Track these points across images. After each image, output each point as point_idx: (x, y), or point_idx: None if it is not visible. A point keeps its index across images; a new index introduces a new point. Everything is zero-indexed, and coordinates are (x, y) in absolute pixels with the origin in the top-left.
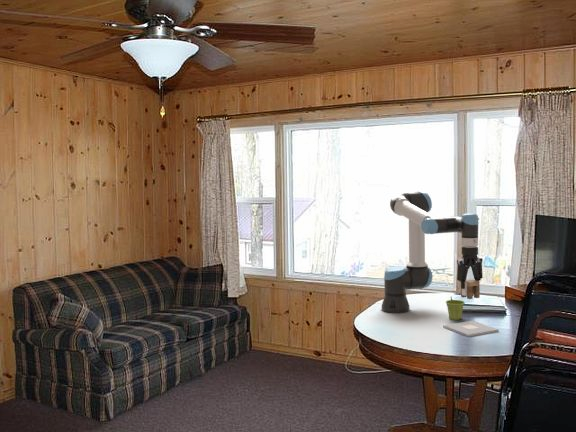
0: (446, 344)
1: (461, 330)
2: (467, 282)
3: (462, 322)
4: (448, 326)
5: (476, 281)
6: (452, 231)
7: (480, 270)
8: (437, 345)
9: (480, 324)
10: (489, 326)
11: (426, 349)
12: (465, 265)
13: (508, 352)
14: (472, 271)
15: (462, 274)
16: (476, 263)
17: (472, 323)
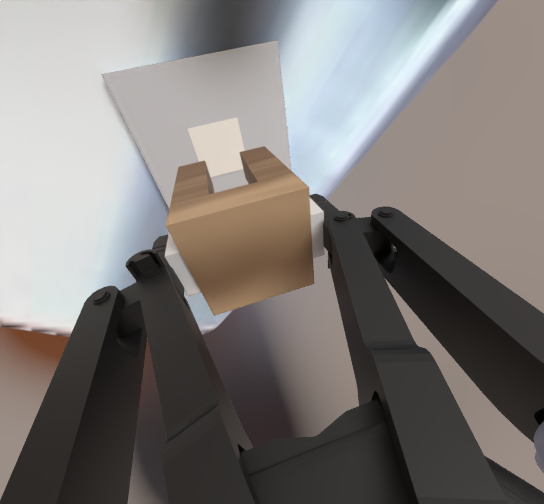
0: (86, 275)
1: (170, 180)
2: (205, 295)
3: (219, 59)
4: (128, 107)
5: (285, 292)
6: None
7: (418, 310)
8: (53, 280)
9: (275, 123)
10: (289, 159)
11: (12, 305)
12: (235, 460)
13: (222, 320)
14: (346, 282)
15: (135, 387)
16: (538, 364)
17: (254, 96)
